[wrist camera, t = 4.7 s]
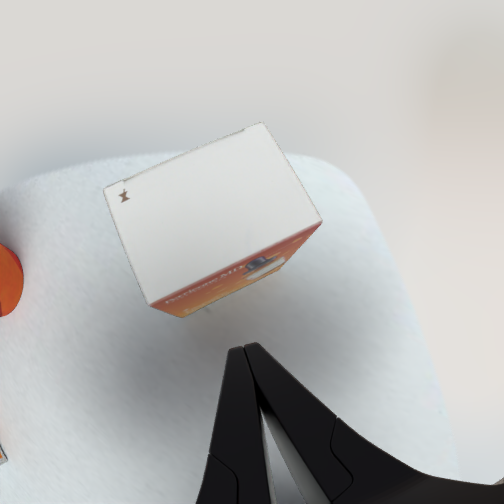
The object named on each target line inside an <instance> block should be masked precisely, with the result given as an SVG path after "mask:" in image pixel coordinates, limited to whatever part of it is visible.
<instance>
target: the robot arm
mask: <svg viewBox="0 0 504 504" xmlns="http://www.w3.org/2000/svg"><path fill="white" fill-rule="evenodd" d="M261 412H262V414H263V417H264V419H265V421H266V423H267V425H268V428H269V430H270V432H271V434H272V436H273V438H274V440H275V442H276V444H277V446H278V448H279V450H280V452H281V454H282V457H283V459H284V461H285V463H286V465H287V467H288V469H289V471H290V473H291V475H292V477H293V479H294V480H295V482H296V484H297V486H298V488H299V490H300V492H301V494H302V496H303V498H304V500H305V502H306V504H504V478H502V479H501V480H499V481H498V482H496V483H495V484H493V485H484V484H477V483H470V482H463V481H457V480H451V479H445V478H440V477H435V476H431V475H427V474H425V473H422V472H420V471H418V470H415V469H414V468H412V467H410V466H408V465H406V464H405V463H403V462H401V461H400V460H398V459H396V458H395V457H393V456H391V455H390V454H388V453H386V452H385V451H383V450H382V449H380V448H378V447H377V446H375V445H374V444H372V443H371V442H369V441H368V440H366V439H365V438H363V437H362V436H361V435H359V434H358V433H357V432H356V431H354V430H353V429H352V428H351V427H349V426H348V425H347V424H346V423H345V422H344V421H343V420H341V419H340V418H339V417H338V418H337V415H335V414H334V413H333V412H332V411H331V410H330V409H329V408H328V407H326V406H325V405H324V404H323V403H322V402H321V401H320V400H319V399H318V398H317V397H315V396H314V395H313V394H312V393H311V392H310V391H309V390H308V389H307V388H306V387H304V386H303V385H302V384H301V383H300V382H299V381H298V380H297V379H296V378H295V377H294V376H293V375H292V374H290V373H289V372H288V371H287V370H286V369H285V368H284V367H283V366H282V365H281V364H280V363H279V362H278V361H277V360H276V359H275V358H274V357H273V356H272V355H270V354H269V353H268V352H267V351H266V350H265V349H264V348H263V347H262V346H261V345H260V344H259V343H257V342H254V343H250V344H247V345H245V346H244V348H243V347H242V346H239V347H235V348H231V349H229V351H228V355H227V360H226V365H225V370H224V375H223V380H222V386H221V391H220V396H219V401H218V406H217V412H216V417H215V422H214V427H213V432H212V438H211V443H210V448H209V453H210V454H208V458H207V463H206V468H205V472H204V477H203V481H202V485H201V488H200V491H199V494H198V498H197V501H196V503H195V504H277V501H276V496H275V490H274V484H273V478H272V472H271V466H270V461H269V455H268V449H267V443H266V437H265V431H264V424H263V419H262V414H261ZM336 418H337V419H336Z"/></svg>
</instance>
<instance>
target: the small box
mask: <svg viewBox="0 0 504 504" xmlns="http://www.w3.org/2000/svg"><path fill="white" fill-rule="evenodd" d="M103 193H104V196H105V199H106V201H107V204H108V207H109V210H110V213H111V216H112V218H113V221H114V224H115V227H116V229H117V232H118V234H119V237H120V240H121V242H122V245H123V247H124V250H125V253H126V255H127V258H128V260H129V263H130V265H131V267H132V270H133V272H134V275H135V277H136V279H137V282H138V284H139V286H140V289H141V291H142V293H143V296H144V298H145V300H146V303H147V304H148V306H150V307H153V308H155V309H158V310H160V311H163V312H166V313H168V314H171V315H174V316H177V317H180V318H183V317H185V316H187V315H189V314H191V313H193V312H195V311H197V310H199V309H201V308H202V307H204V306H206V305H208V304H210V303H212V302H214V301H216V300H218V299H220V298H223V297H225V296H227V295H229V294H231V293H233V292H235V291H237V290H239V289H241V288H243V287H245V286H247V285H250V284H252V283H254V282H256V281H258V280H260V279H262V278H264V277H266V276H268V275H270V274H272V273H274V272H276V271H278V270H279V269H280V268H281V267H282V266H283V265H284V264H285V263H286V262H287V261H288V260H289V258H290V257H291V256H292V255H293V254H294V253H295V252H296V251H297V250H298V248H300V247H301V245H302V244H303V243H304V242H305V241H306V240H307V239H308V238H309V237H310V236H311V235H312V234H313V233H314V231H315V230H316V229H317V228H318V227H319V226H320V225H321V224H322V222H323V221H322V218H321V217H320V215H319V213H318V211H317V210H316V208H315V206H314V204H313V203H312V201H311V199H310V197H309V196H308V194H307V192H306V191H305V189H304V187H303V185H302V184H301V182H300V180H299V179H298V177H297V175H296V174H295V172H294V170H293V169H292V167H291V165H290V164H289V162H288V160H287V159H286V157H285V155H284V154H283V152H282V151H281V149H280V147H279V146H278V144H277V143H276V141H275V139H274V138H273V136H272V135H271V133H270V132H269V130H268V128H267V127H266V125H265V124H264V123H263V122H259V123H257V124H254V125H252V126H250V127H247V128H245V129H242V130H240V131H238V132H235V133H232V134H230V135H227V136H225V137H222V138H219V139H217V140H214V141H212V142H209V143H207V144H204V145H202V146H200V147H197V148H194V149H192V150H190V151H187V152H185V153H183V154H180V155H178V156H176V157H173V158H171V159H169V160H166V161H164V162H162V163H160V164H157V165H155V166H153V167H151V168H148V169H146V170H144V171H142V172H139V173H137V174H135V175H133V176H130V177H128V178H126V179H123V180H120V181H118V182H116V183H114V184H112V185H109V186H107V187H105V188H104V189H103Z"/></svg>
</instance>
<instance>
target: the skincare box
mask: <svg viewBox="0 0 504 504" xmlns="http://www.w3.org/2000/svg"><path fill="white" fill-rule="evenodd" d="M5 462H7V459H6V457H5V456H4V454H3V452H2V450H1V448H0V465H1V464H3V463H5Z"/></svg>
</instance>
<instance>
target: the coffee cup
mask: <svg viewBox="0 0 504 504" xmlns="http://www.w3.org/2000/svg"><path fill="white" fill-rule="evenodd" d="M22 290H23V270H22V266H21V263H20V261H19V259H18V257H17V256H16V255H15V254H14V253H13V252H12V251H11V250H9V249H8V248H7V247H5V246H3V245H2V244H0V317H2V316H6V315H8V314H9V313H11V312H12V311H13V310H14V308H15V307H16V306H17V304H18V302H19V300H20V297H21V294H22Z"/></svg>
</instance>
